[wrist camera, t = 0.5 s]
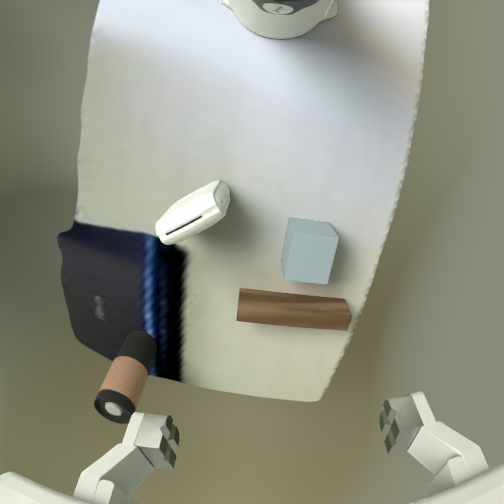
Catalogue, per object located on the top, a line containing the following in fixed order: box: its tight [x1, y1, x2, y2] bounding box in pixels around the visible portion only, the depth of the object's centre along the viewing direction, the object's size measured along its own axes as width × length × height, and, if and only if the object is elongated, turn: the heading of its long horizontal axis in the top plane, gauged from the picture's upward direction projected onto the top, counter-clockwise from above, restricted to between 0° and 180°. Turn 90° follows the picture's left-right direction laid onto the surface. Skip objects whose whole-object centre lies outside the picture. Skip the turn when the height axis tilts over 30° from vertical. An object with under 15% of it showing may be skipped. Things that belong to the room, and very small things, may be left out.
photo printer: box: [156, 180, 231, 245], centre depth 44 cm, size 10×4×12 cm, turn 117°
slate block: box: [281, 217, 339, 284], centre depth 50 cm, size 8×7×7 cm
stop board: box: [237, 288, 352, 330], centre depth 55 cm, size 3×20×6 cm, turn 83°
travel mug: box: [94, 331, 157, 424], centre depth 54 cm, size 8×8×20 cm
